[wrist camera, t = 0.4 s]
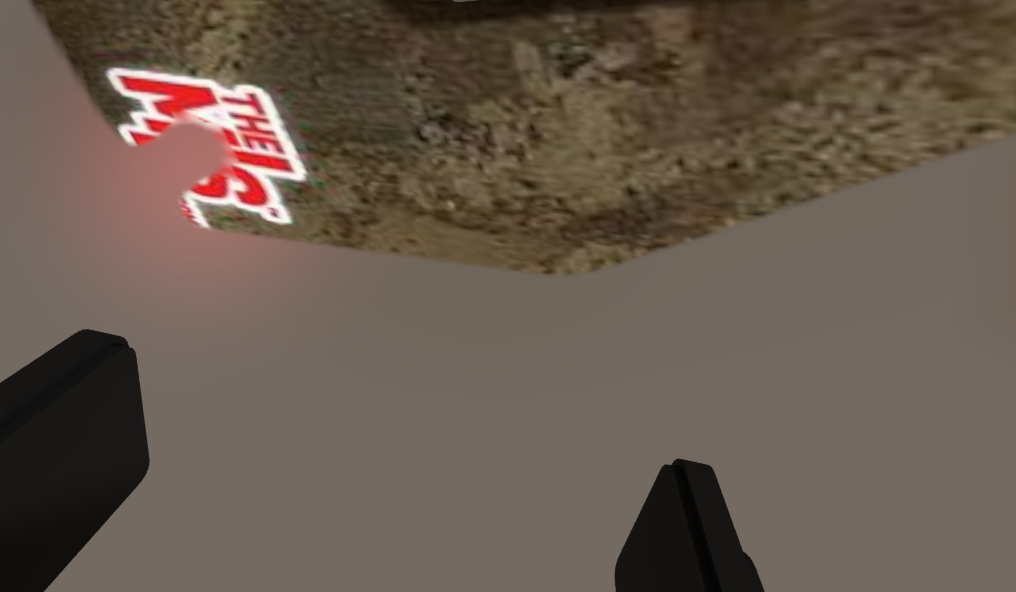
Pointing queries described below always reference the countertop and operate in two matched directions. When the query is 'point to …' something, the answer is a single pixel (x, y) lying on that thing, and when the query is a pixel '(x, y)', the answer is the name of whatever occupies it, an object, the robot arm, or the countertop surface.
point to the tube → (463, 0)
